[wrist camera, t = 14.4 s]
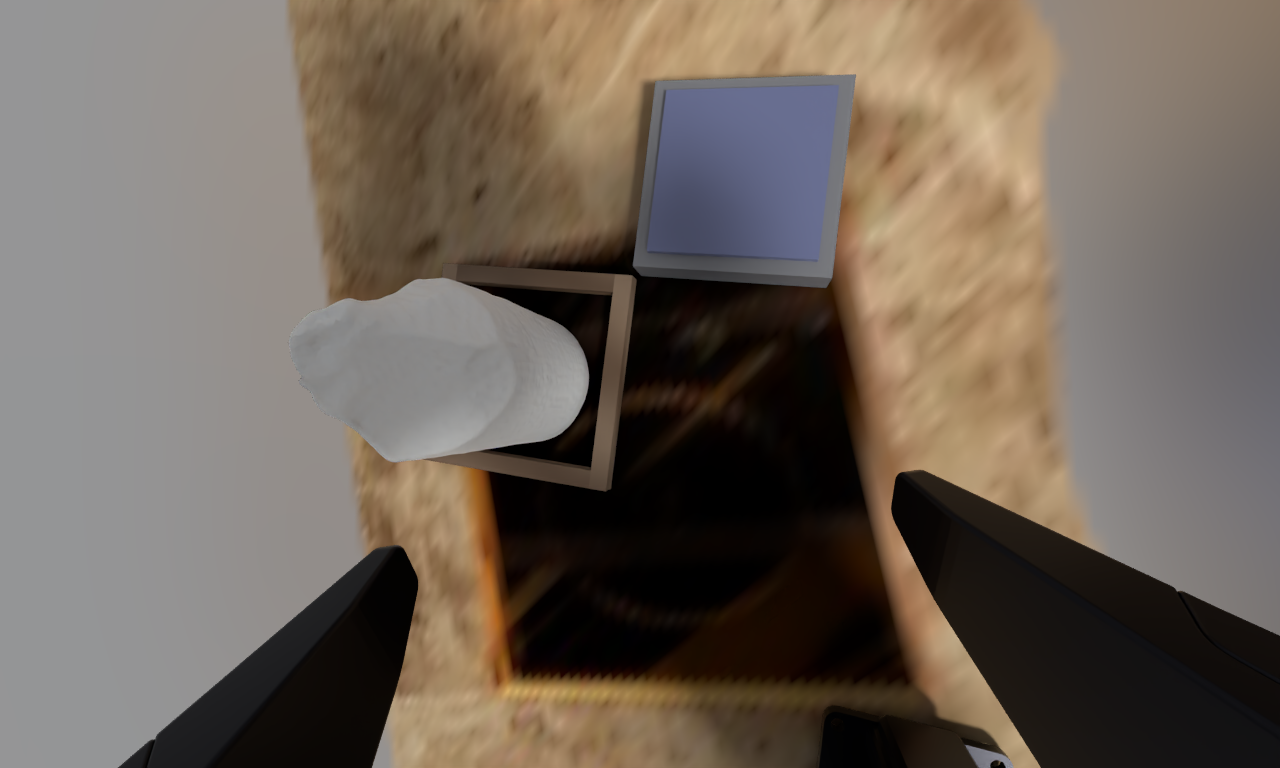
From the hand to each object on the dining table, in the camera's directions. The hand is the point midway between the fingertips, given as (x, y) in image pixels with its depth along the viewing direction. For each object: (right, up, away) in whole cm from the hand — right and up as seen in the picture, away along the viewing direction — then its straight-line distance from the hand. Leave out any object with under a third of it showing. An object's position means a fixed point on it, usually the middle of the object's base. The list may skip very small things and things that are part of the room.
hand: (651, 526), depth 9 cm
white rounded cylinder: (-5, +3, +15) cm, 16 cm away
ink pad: (+4, +11, +12) cm, 17 cm away
